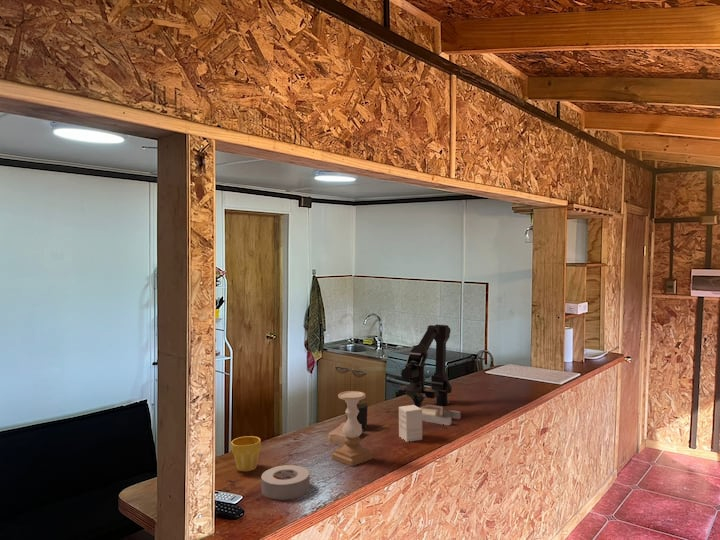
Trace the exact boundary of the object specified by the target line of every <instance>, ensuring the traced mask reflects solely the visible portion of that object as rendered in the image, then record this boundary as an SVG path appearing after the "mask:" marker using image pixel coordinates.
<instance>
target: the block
mask: <svg viewBox="0 0 720 540" xmlns="http://www.w3.org/2000/svg"><path fill="white" fill-rule="evenodd" d="M443 407H444V406H441V405H435V404H433V405H432V404H424V405H423V406H421V407H420V408H421V409H422V413H426V414H433V415H439V416H443V409H444V408H443Z"/></svg>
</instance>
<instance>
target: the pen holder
mask: <svg viewBox="0 0 720 540" xmlns="http://www.w3.org/2000/svg"><path fill="white" fill-rule="evenodd" d="M368 406H369V405H368V403H357V409H358V410H359V413H358V415H357V420H358V422H359V424H362V431H364V430H366V429H367V427H368ZM346 409H347V403H346V404H345V410H346ZM345 418H346V419H345V421H347V419H348V417H347V415H346V414H345Z"/></svg>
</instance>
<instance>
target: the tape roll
mask: <svg viewBox="0 0 720 540" xmlns="http://www.w3.org/2000/svg"><path fill="white" fill-rule="evenodd" d="M260 479H261V482H260V483H261V486H260V487H261V494H262V495H263V496H264V497H266V498H269V499H273V500H278V501H279V500H280V501H281V500H282V501H284V500H291V499H297V498H300V497H302V496H304V495H307V493H309V491H310V489H311V484H310V483H311V481H310V471H309V470H308V469H307V468H306V467H304V466H301V465H294V464H293V465H291V464H288V465H287V464H286V465H285V464H283V465H277V466H274V467H272V468H268V469H267V470H265V471H263V472H262V474H261V475H260Z"/></svg>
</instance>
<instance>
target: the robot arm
mask: <svg viewBox="0 0 720 540" xmlns="http://www.w3.org/2000/svg"><path fill="white" fill-rule="evenodd" d="M450 335H451V327H449V325H447V324H434V325H431V324H430V325H427V329H426V331H425V333H424V334H423V336H422V338H421V340H420V341H419V343H418V344H417V345H415V346H413V348H412V349H411V350H410V352H409V353H408V356H407V360H406V362H405V366H404V368H402V370H401V373H400V374H401V375H400V376H401V378H402V379H403V380H404V381H406V382H408V381H410V382H409V384H408V385H404V384H403V385H401V386H399V387H398V388H397V394H399V395H404V394H406V396H407V397H409V398H411V399H412V401H413V403H414V404H413V405H415V406H417V407H419V408H421V407H422V404H423V402H424V400H425V399H426V398H427V399H431V400H432V399H435V398H436V399H435V402H433V405H435V406H441V407H446V406H447V405H450V404H451V401H449V394H451V393H452V392H453V391H452V390H453V387H452V384H451V383H450V380H449V376H448V374H447V372H446V361H447V360H446V359H447V357H446V356H447V353H446V352H447V342H448V340H449V339H450ZM434 341H435V342H436V343H435V372H434V373H433V374H432V375H431V380H430V386H431V388H430V389H428V390H426V386H425V381H426V378H425V367H426V366H427V364H426V363H425V362H426V360H428V356H429V354H428V350H429V349H430V346H431V345H432V343H433V342H434Z"/></svg>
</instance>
